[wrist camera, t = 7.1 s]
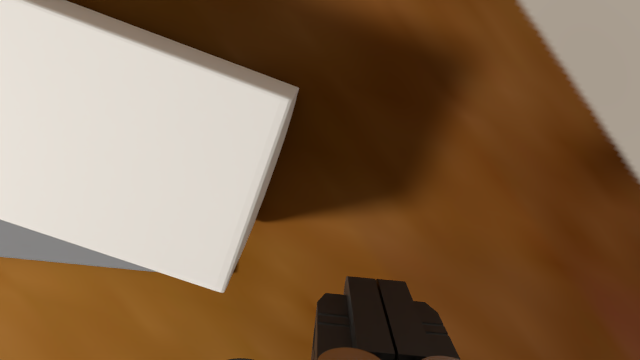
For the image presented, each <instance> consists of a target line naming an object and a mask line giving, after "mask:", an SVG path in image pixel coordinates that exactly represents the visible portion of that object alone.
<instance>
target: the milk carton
mask: <svg viewBox="0 0 640 360" xmlns="http://www.w3.org/2000/svg"><path fill="white" fill-rule="evenodd" d="M298 91H299V88H298V87H296V86H293V85H291V84H288V83H285V82H283V81H280V80H277V79H275V78H272V77H269V76H267V75H264V74H261V73H259V72H256V71H253V70H251V69H248V68H245V67H243V66H240V65H237V64H235V63H232V62H229V61H227V60H224V59H221V58H219V57H216V56H213V55H211V54H208V53H205V52H203V51H200V50H197V49H195V48H192V47H189V46H187V45H184V44H181V43H179V42H176V41H173V40H171V39H168V38H165V37H163V36H160V35H157V34H155V33H152V32H149V31H147V30H144V29H141V28H139V27H136V26H133V25H131V24H128V23H125V22H123V21H120V20H117V19H115V18H112V17H109V16H107V15H104V14H101V13H99V12H96V11H93V10H91V9H88V8H85V7H83V6H80V5H77V4H75V3H72V2H69V1H67V0H0V220H3V221H6V222H9V223H12V224H15V225H18V226H21V227H24V228H27V229H30V230H33V231H36V232H39V233H42V234H45V235H49V236H52V237H55V238H58V239H61V240H64V241H67V242H70V243H73V244H76V245H79V246H82V247H85V248H88V249H91V250H94V251H97V252H100V253H103V254H106V255H109V256H112V257H115V258H118V259H121V260H124V261H127V262H130V263H133V264H136V265H139V266H142V267H145V268H148V269H151V270H154V271H157V272H160V273H163V274H166V275H169V276H172V277H175V278H178V279H181V280H184V281H187V282H190V283H193V284H196V285H199V286H202V287H205V288H208V289H211V290H214V291H218V292H222V293H224V291H225V289H226V287H227V285H228V282H229V280H230V278H231V276H232V273H233V271H234V269H235V267H236V265H237V262H238V260H239V258H240V256H241V253H242V251H243V249H244V246H245V244H246V242H247V239H248V237H249V234H250V232H251V230H252V227H253V225H254V222H255V220H256V217H257V214H258V212H259V209H260V207H261V204H262V201H263V199H264V196H265V193H266V191H267V188H268V185H269V182H270V180H271V177H272V174H273V171H274V168H275V165H276V163H277V160H278V157H279V154H280V151H281V148H282V145H283V142H284V139H285V136H286V133H287V130H288V126H289V123H290V120H291V116H292V113H293V109H294V106H295V102H296V98H297V94H298Z"/></svg>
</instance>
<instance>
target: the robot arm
mask: <svg viewBox="0 0 640 360" xmlns="http://www.w3.org/2000/svg"><path fill="white" fill-rule="evenodd" d="M229 360H252V359H241V358H238V359H229ZM311 360H460V358H459V356H458V354H457V352H456V350H455V348H454V346H453V344H452V341H451V339H450V337H449V336H448V333H447V331H446V329H445V327H444V326H443V323H442V321H441V319H440V317H439V315H438V313H437V312H436V311H435V310H434V309H432V308H431V307H430V306H429V305H428V304H426V303H425V302H417V301H413V300H412V297H411V295H410V292H409V290H408V287H407V285H406V283H405V282H403V281H393V280H382V279H376V280H375V279H370V278H360V277H349V276H347V277H346V281H345V288H344V295H340V294H329V293H325V294H324V295H323V296H322V298H321V299H320V300H319V301H318V302H317V310H316V319H315V328H314V338H313V347H312V357H311Z"/></svg>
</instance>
